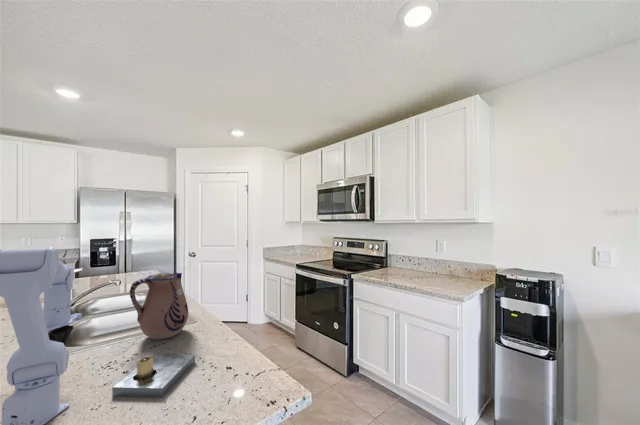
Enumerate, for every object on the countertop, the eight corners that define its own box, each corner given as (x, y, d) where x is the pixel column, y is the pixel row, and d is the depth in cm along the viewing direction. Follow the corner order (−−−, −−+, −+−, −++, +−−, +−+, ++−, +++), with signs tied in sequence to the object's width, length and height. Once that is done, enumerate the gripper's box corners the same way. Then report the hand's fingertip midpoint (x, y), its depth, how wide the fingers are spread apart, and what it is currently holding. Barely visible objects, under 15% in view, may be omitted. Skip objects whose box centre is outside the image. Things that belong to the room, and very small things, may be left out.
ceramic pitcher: (197, 331, 117) (197, 273, 117) (144, 353, 99) (145, 283, 99) (173, 323, 126) (173, 269, 126) (121, 342, 108) (121, 278, 108)
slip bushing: (146, 388, 79) (146, 363, 79) (133, 387, 79) (133, 362, 79) (155, 379, 83) (155, 356, 83) (143, 379, 83) (143, 355, 83)
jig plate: (162, 397, 74) (162, 388, 75) (112, 396, 75) (112, 387, 75) (194, 362, 92) (195, 354, 93) (154, 361, 93) (154, 354, 93)
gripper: (47, 315, 73) (47, 367, 73) (91, 299, 87) (91, 341, 87) (20, 316, 73) (19, 367, 73) (69, 299, 87) (68, 342, 87)
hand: (57, 353), depth 80 cm, fingers closed
